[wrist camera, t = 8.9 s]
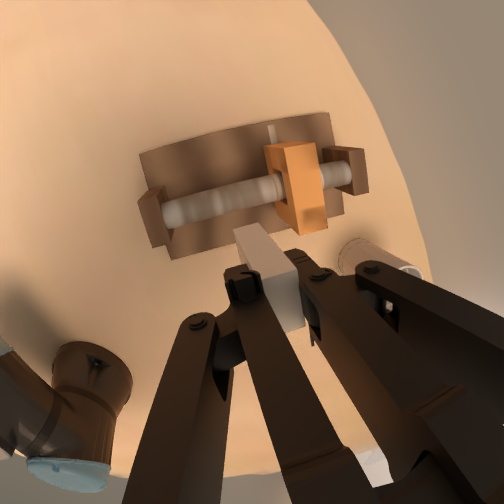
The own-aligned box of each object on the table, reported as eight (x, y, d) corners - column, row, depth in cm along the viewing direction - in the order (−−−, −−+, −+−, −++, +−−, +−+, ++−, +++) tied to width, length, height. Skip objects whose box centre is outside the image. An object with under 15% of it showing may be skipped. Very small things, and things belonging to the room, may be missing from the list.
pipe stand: (171, 256, 38) (166, 286, 30) (140, 153, 32) (124, 157, 25) (340, 211, 40) (372, 229, 32) (325, 113, 34) (357, 108, 27)
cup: (337, 233, 41) (383, 267, 30) (381, 233, 43) (430, 264, 32) (329, 283, 44) (367, 326, 33) (372, 279, 45) (414, 317, 34)
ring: (276, 214, 35) (299, 235, 28) (263, 146, 32) (283, 148, 24) (299, 208, 36) (327, 228, 28) (287, 141, 32) (314, 142, 25)
